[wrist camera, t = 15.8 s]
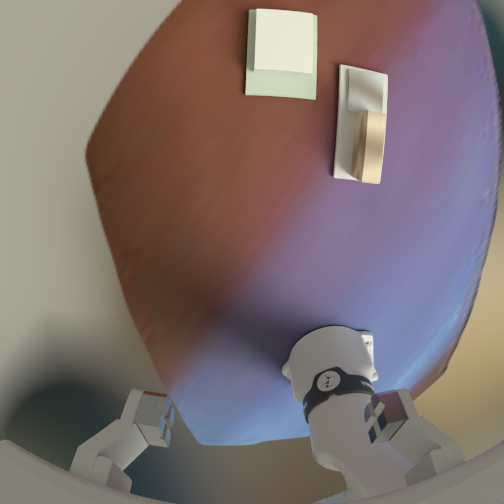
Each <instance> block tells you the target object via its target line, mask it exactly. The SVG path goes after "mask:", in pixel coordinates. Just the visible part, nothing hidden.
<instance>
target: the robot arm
mask: <svg viewBox="0 0 504 504" xmlns="http://www.w3.org/2000/svg"><path fill="white" fill-rule="evenodd" d="M282 373H283V375H285V376H286V377H287V378H288V379H290V380H291V384H292V389H293V394H294V398H295V399H297V400H298V401H300V402H301V403H303V412H304V416H305V419H306V422H307V423H308V424H309V429H310V437H311V444H312V451H313V457H314V459H315V460H316V462H318V463H319V464H320V465H321V466H323V467H325V468H328V469H331V470H336V471H341V472H342V474H343V476H344V478H345V480H346V483H347V491H344V492H342V493H339V494H337V495H334V496H331V497H329V498H326V499H323V500H320V501H318V502H315V503H313V504H504V440H503V441H501V442H500V443H499V444H497V445H495V446H493V447H492V448H490V449H488V450H487V451H485V452H483V453H482V454H480V455H478V456H476V457H474V458H473V459H470V460H468V461H466V462H465V461H464V458H463V456H462V453H461V451H460V448H459V446H458V443H457V441H456V440H455V439H453V438H452V437H451V436H449V435H448V434H446V433H445V432H443V431H442V430H440V429H439V428H438V427H436V426H435V425H434V424H432V423H431V422H429V421H428V420H426V419H425V418H424V417H422V416H420V417H419V415H418V413H417V411H416V408H415V406H414V404H413V401H412V399H411V397H410V395H409V392H408V390H407V389H406V388H403V389H398V390H391V391H386V392H380V393H375V390H374V388H373V386H372V382H373V381H375V380H377V379H378V375H377V371H376V368H375V366H374V365H373V336H372V333H371V332H368V331H355V330H353V329H350V328H347V327H343V326H330V327H324V328H320V329H317V330H315V331H313V332H311V333H309V334H307V335H305V336H304V337H303V338H301V339H300V340H299V341H298V342H297V343H296V344H295V345H294V347H293V349H292V351H291V353H290V357H289V360H288V361H287V362H286V363H285V364H284V365H283V367H282ZM170 401H171V398H170V395H168V394H161V393H154V392H148V391H144V390H138V389H132V391H131V392H130V394H129V397H128V400H127V402H126V405H125V408H124V411H123V413H122V416H121V419H120V420H115V421H114V422H113V423H111V424H110V425H109V426H107V427H106V428H104V429H103V430H102V431H100V432H99V433H98V434H96V435H95V436H93V437H92V438H90V439H89V440H88V441H86V442H85V443H84V444H82V445H81V446H79V447H78V449H77V452H76V455H75V458H74V460H73V463H72V465H71V468H70V471H69V472H67V471H65V470H63V469H61V468H59V467H57V466H54V465H52V464H50V463H48V462H46V461H44V460H43V459H41V458H38V457H37V456H35V455H33V454H31V453H30V452H28V451H26V450H24V449H23V448H21V447H19V446H17V445H16V444H14V443H13V442H11V441H8V440H3V441H0V504H174V503H168V502H163V501H158V500H154V499H149V498H144V497H141V496H137V495H133V494H129V491H130V487H131V483H132V481H131V479H130V478H129V477H128V476H127V475H126V474H125V473H124V472H123V471H122V470H124V469H125V468H126V467H127V466H128V465H129V464H130V463H131V462H132V461H133V460H134V459H135V458H136V457H137V456H138V455H139V454H140V453H141V452H142V451H143V450H144V449H145V448H146V447H147V446H148V444H150V445H155V446H162V447H168V445H169V441H170V436H171V433H170V431H169V428H170V427H172V426H173V422H174V407H173V405H172V404H170Z"/></svg>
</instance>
